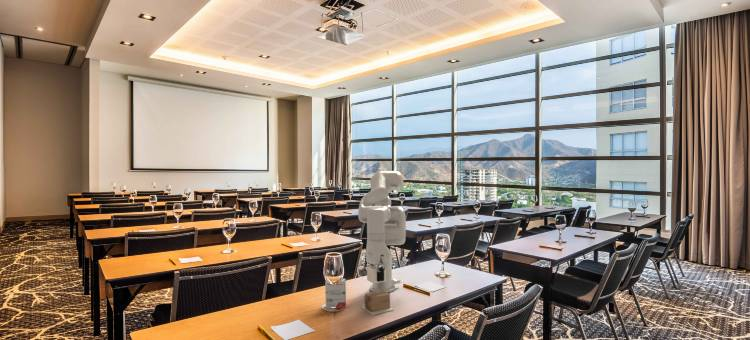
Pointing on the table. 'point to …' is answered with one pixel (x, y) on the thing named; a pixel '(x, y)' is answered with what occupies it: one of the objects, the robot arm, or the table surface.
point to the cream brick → (374, 274)
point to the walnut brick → (377, 301)
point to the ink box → (336, 294)
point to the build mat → (378, 311)
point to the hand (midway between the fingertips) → (376, 278)
